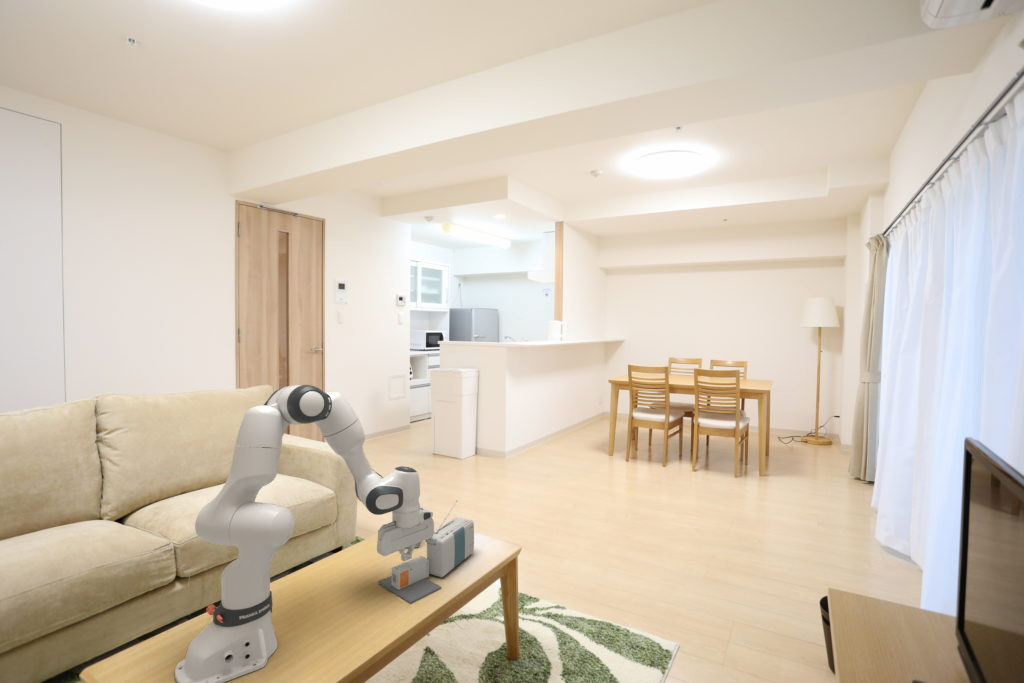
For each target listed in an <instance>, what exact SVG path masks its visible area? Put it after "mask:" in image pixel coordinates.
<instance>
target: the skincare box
mask: <svg viewBox="0 0 1024 683" xmlns="http://www.w3.org/2000/svg"><path fill="white" fill-rule="evenodd" d="M429 575H430V574H429V560H428V559H427V557H426V556H425V557H424V556H423V555H419V556H417V557H415V558H413V559H412V558H411V559H408V560H406V561H403V562H402V563H399V564H397V565H395V566H393V567H391V576H392V586H393V587H395V588H396V589H398V590H399V589H402V588H404V587H406V586H408V585H411V584H413V583H415V582H418V581H420V580H422V579H424V578H426V579H428V578H429Z"/></svg>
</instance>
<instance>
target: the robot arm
mask: <svg viewBox="0 0 1024 683" xmlns="http://www.w3.org/2000/svg"><path fill="white" fill-rule="evenodd" d="M344 396H345V395H343V394H342V393H340V392H338V391H327V392H324V391H323V390H322V389H321V388H319V387H317V386H315V385H312V384H302V385H301V384H291V385H289V386H283V387H280V388H277V390H275V391H273V393H271V394H270V396H269V398H267V400H266V402H265V403H264V404H262V405H261V404H260V405H256V406H253V407H250V408H249V409H248V410H246V412H245V413H244V416H243V418H242V420H241V423H240V426H239V429H238V432H237V437H236V440H235V444H234V445H235V446H234V451H233V454H232V461H231V465H230V469H229V474H228V476H227V478H226V481H225V483H224V484H223V487H222V488H221V490H220V491H219V492H218V494H217V495H216V496H215V498H213V499H212V500H211V501H210V502H208V503H207V504H205V505H204V506H203V507H202V508H201V509H200V511H199V512H198V514H197V516H196V519H195V524H194V527H195V533H196V535H197V536H198V538H200V539H202V540H204V541H206V542H208V543H212V544H214V545H218V546H219V545H220V546H221V545H222V546H231V547H236V548H238V555H237V558H236V559H235V560H233V561H231V562H230V563H229V564H228V565H227V566H226V567H225V568H224V570H223V572H222V574H221V575H220V576H221V577H220V580H221V582H220V583H221V587H220V588H221V601H220V602H219V604H218V606H216V605H215V604H214V603H211V604H209V605H207V607H206V609H205V611H206V613H207V614H208V615H210V616H212V620H211V621H210V623H208V624H207V625H206V627H204V629H202V630H201V631H200V632H199V633H198V634H197V635H196V636H195V637H194V638H193V639H192V640H191V642H190V643H189V645H188V647H187V652H186V656H185V658H184V659H182V660H180V661H179V662H178V663H177V665H176V667H175V670H174V678H175V681H176V683H225V682H228V681H231V680H234V679H236V678H238V677H241V676H242V677H243V676H244V675H247V674H250V673H252V672H255V671H258V670H261V669H263V668H265V666H266V664H267V663H268V660H269V658H270V657H271V656H272V655H273V654H274V653H275V651H276V649H277V648H278V644H279V643H278V639H277V636H276V633H275V629H274V626H273V624H274V623H273V618H272V612H273V606H274V605H273V603H274V602H273V594H272V590H271V567H272V562H273V559H274V557H275V555H276V553H277V551H278V550H279V549H280V548H282V547H283V546H284V545H285V544H286V543H287V542H288V541H289V540H290V539H291V537H292V535H293V533H294V530H295V522H296V521H295V517H294V516H295V515H294V513H293V512H292V510H291V509H289V508H287V507H285V506H282V505H279V504H276V503H271V502H270V503H269V502H258V501H256V498H257V496H258V495H259V494H258V493H259V492H260V491H261V489H262V488H263V487H265V486H267V485H269V484H270V483H272V482H273V481H274V480H275V479H276V477H277V475H278V470H279V464H280V458H281V457H280V456H281V452H282V451H281V450H282V444H283V436H284V434H285V431H286V430H287V428H288V427H289V426H290V425H295V426H297V425H303V424H305V425H308V424H312V423H314V424H316V425H317V427H318V428H319V431H320V432H321V434H322V436H323V438H324V439H325V441H326V443H327V444H328V445H329V448H331V449H332V451H333V452H334V453H335V454H336V455H338V456H340V457H341V458H342V459H343V460H344V462H345V464H346V465H347V468H348V469H349V471H350V473H351V475H352V477H353V480H354V490H355V495H356V498H357V499H358V501H359V502H361V503H362V504H363V505H364V507H365V508H366V510H368V511H369V512H370V513H371V514H372V515H376V516H381V515H384V514H385V515H386V514H388V513H390V512H391V514H392V515H391V516H392V517H391V519H392V520H391V521H390V522H388V523H385V524H382V526H381V527H380V528H379V529H378V530H377V531H378V532H377V541H376V543H377V544H376V551H377V552H376V553H378V554H379V555H381V556H383V557H387V556H389V555H391V554H394V553H396V552H399V554H400V555H401V556H400V557H401V561H403V562H407V561H409V560H412V558H413V552H414V550H415V544H417V543H419V542H420V543H422V542H425V540H427V539H429V538H432V537H433V535H434V531H435V522H434V518H433V516H434V512H433V511H432V510H430V509H428V508H425V507H421V505H420V495H421V484H420V483H421V482H420V476H419V472H418V471H417V470H416V469H415V468H413V467H409V466H403V465H402V466H396V467H395V468H394V469H393V470H392V471H391V472H390V473H389V474H387V475H386V476H384V477H383V476H382V475H381V474H380V473H378V472H377V471H376V470H374V469H373V467H372V465H371V462H370V461H369V459H368V457H367V456H366V453H365V451H364V448H363V445H364V442H365V439H366V435H365V431H364V428H363V425H362V423H361V421H360V419H359V418H358V415H357V414H356V412H355V410H354V409H353V407H352V406H351V403H349V401H348V400H347V398H345V397H344ZM407 547H409V548H407ZM406 549H407V550H406Z"/></svg>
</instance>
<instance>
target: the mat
mask: <svg viewBox="0 0 1024 683" xmlns="http://www.w3.org/2000/svg"><path fill="white" fill-rule="evenodd" d="M377 584H378V585H380V586H381V587H383V588H384V589H386V590H388V591H389V592H391V593H392V594H394V595H395V596H397V597H399V598H401V599H403V600H404V601H406V602H407V603H408V604H410V605H411V604H413V603H416V602H417V601H419V600H422V599H423V598H426V597H427V596H429V595H432V594H434V593H436V592H437V591H439V590H442V586H441V585H439V584H437V583H435V582H434V581H431V580H430V579H428V578H424V579H422V580H420V581H418V582H415V583H413V584H411V585H408V586H406V587H404V588H402V589H399V590H398V589H396V588H395V587H393V586H392V575H389V576H387V577H386V578H382V579H381V580H378V581H377Z"/></svg>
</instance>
